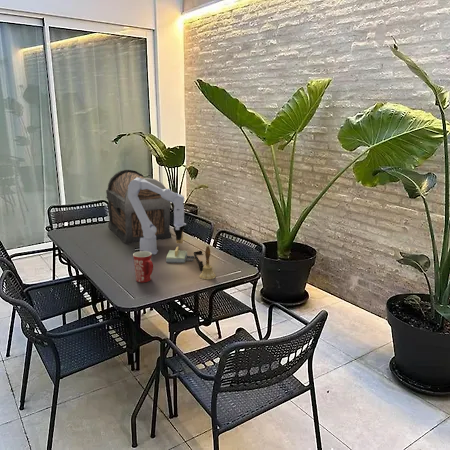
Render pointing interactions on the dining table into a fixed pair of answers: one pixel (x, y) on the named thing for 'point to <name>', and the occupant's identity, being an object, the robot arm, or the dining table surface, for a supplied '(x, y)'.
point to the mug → (143, 266)
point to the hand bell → (207, 267)
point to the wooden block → (180, 240)
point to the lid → (176, 254)
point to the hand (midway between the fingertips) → (179, 238)
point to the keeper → (190, 259)
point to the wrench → (198, 260)
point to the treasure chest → (125, 214)
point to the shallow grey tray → (176, 260)
